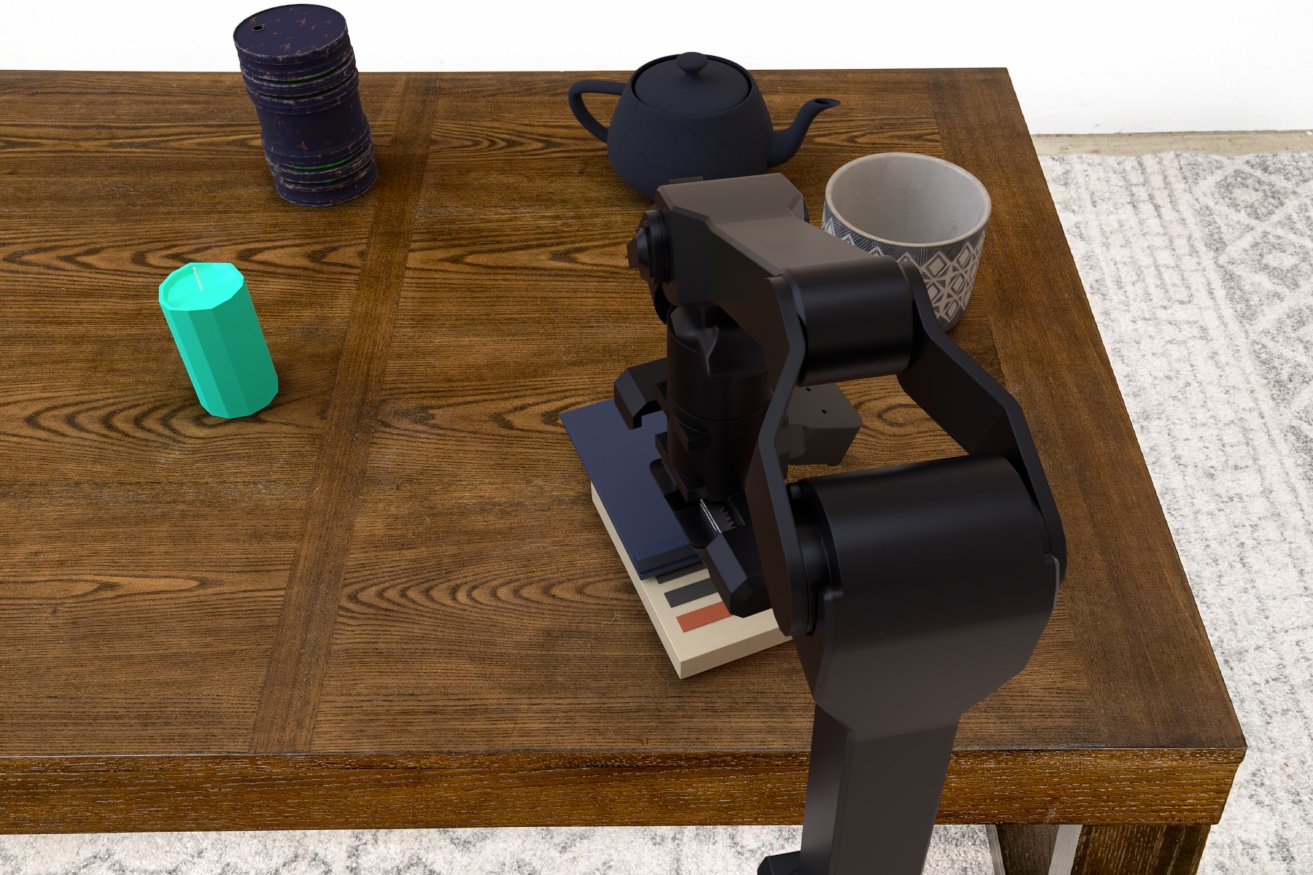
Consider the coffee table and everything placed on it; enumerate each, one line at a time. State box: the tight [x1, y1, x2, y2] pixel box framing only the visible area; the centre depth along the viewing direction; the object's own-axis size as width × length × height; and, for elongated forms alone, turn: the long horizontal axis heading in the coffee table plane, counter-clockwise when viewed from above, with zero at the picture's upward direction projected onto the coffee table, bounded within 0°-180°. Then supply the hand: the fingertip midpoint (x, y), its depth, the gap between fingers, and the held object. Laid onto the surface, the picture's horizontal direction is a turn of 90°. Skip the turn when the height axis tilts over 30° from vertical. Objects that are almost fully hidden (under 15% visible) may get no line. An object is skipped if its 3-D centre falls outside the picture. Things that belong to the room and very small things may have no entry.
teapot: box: [567, 51, 842, 203], centre depth 106 cm, size 25×16×12 cm, turn 75°
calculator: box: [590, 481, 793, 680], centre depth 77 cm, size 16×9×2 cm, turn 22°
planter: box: [820, 151, 992, 333], centre depth 93 cm, size 13×13×10 cm
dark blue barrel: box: [232, 3, 379, 208], centre depth 105 cm, size 10×10×15 cm
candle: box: [158, 262, 279, 419], centre depth 86 cm, size 6×6×12 cm
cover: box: [559, 397, 702, 581], centre depth 80 cm, size 16×9×2 cm, turn 22°
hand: (711, 560), depth 74 cm, fingers closed
